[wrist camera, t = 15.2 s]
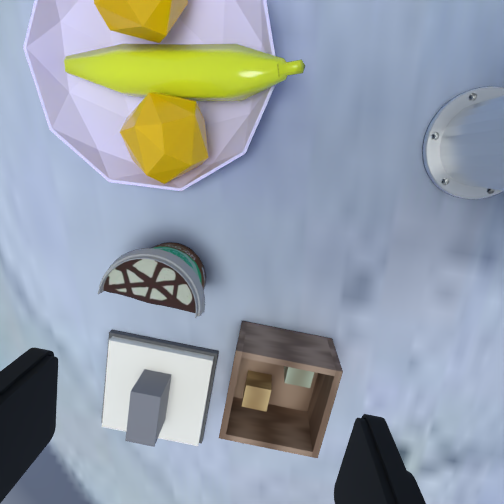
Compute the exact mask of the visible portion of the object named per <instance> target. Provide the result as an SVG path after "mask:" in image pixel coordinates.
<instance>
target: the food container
mask: <svg viewBox="0 0 504 504" xmlns="http://www.w3.org/2000/svg"><path fill="white" fill-rule="evenodd" d="M205 280H206V275H205V270H204V266H203V264H202V262H201V260H200V258H199V257H198V256H197V255H196V254H195V253H194V252H193V251H192V250H191V249H190V248H188V247H186V246H184V245H182V244H179V243H162V244H159V245H157V246H155V247H152V248H143V249H137V250H133V251H130V252H128V253H126V254H124V255H122V256H121V257H119V258H118V259H117V260H115V262H114V263H113V264H112V265H111V266H110V267H109V269H108V270H107V272H106V273H105V275H104V276H103V278H102V281H101V283H100V286H99V291H98V294H100V293H101V292H103V291H107V292H110V293H116V294H120V295H124V296H128V297H131V298H134V299H137V300H140V301H144V302H147V303H151V304H156V305H162V306H167V307H172V308H176V309H180V310H185V311H189V312H193V313H196V316H195V318H196V317H197V316H200V315H201V314H202V313H203V312H204V309H205V296H204V287H205Z"/></svg>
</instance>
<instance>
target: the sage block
mask: <svg viewBox="0 0 504 504" xmlns="http://www.w3.org/2000/svg"><path fill="white" fill-rule="evenodd" d="M313 375H314V372H311V371H306V370H301V369H296V368H291V367H286V366H284V382H285V383H287V384H292V385H297V386H302V387H307V388H310V387H311V383H312V379H313Z"/></svg>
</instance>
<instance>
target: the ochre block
mask: <svg viewBox="0 0 504 504" xmlns="http://www.w3.org/2000/svg"><path fill="white" fill-rule="evenodd" d="M271 383H272V375H270V374H265V373H260V372H255V371H250V370H248V373H247V377H246V382H245V387H244V393H243V400H242V407H246V408H251V409H256V410H261V411H267V407H268V403H269V398H270V394H271Z"/></svg>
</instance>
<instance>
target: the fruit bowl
mask: <svg viewBox="0 0 504 504" xmlns="http://www.w3.org/2000/svg"><path fill="white" fill-rule="evenodd" d="M23 48H24V51H25V55H26V58H27V61H28V64H29V67H30V70H31V73H32V76H33V79H34V83H35V86H36V89H37V92H38V95H39V98H40V101H41V104H42V107H43V110H44V114H45V117H46V120H47V123H48V126H49V129H50V130H51V131H52V132H53V133H54V134H55V135H56V136H57V137H59V138H60V139H61V140H62V141H63V142H64V143H65V144H66V145H68V146H69V147H70V148H71V149H72V150H73V151H74V152H76V153H77V154H78V155H79V156H80V157H81V158H82V159H83V160H85V161H86V162H87V163H88V164H89V165H90V166H91V167H93V168H94V169H95V170H96V171H97V172H98V173H99V174H100V175H102V176H103V177H104V178H105V179H106V180H107V181H108V182H112V183H120V184H128V185H136V186H144V187H152V188H160V189H168V190H176V191H182V190H184V189H186V188H188V187H189V186H191V185H193V184H194V183H196V182H198V181H199V180H201V179H203V178H205V177H206V176H208V175H210V174H211V173H213V172H215V171H217V170H218V169H220V168H222V167H223V166H225V165H227V164H228V163H230V162H232V161H234V160H235V159H237V158H239V157H240V156H242V155H244V154H245V153H246V151H247V149H248V146H249V144H250V142H251V140H252V137H253V135H254V133H255V130H256V128H257V126H258V124H259V121H260V119H261V117H262V114H263V112H264V110H265V108H266V105H267V103H268V101H269V98H270V96H271V94H272V92H273V89H274V87H275V85H276V84H278V83H280V82H282V81H284V80H286V78H287V75H294V74H301V73H303V71H304V68H305V65H304V63H303V61H302V60H297V61H291V62H286V61H285V59H283V58H280V57H277V56H275V50H274V44H273V38H272V32H271V26H270V20H269V14H268V8H267V2H266V0H35V1H34V5H33V9H32V13H31V17H30V22H29V26H28V30H27V34H26V38H25V42H24V46H23Z"/></svg>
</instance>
